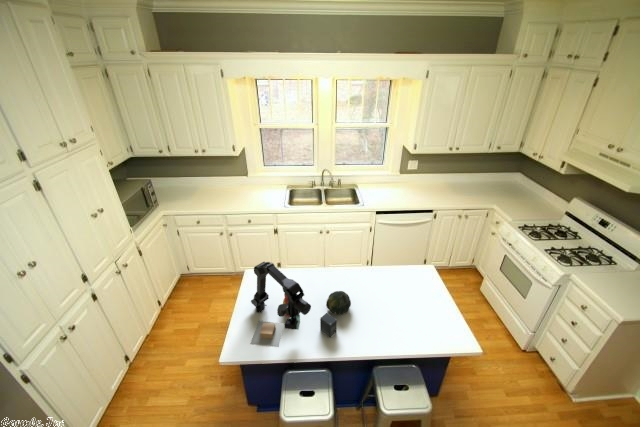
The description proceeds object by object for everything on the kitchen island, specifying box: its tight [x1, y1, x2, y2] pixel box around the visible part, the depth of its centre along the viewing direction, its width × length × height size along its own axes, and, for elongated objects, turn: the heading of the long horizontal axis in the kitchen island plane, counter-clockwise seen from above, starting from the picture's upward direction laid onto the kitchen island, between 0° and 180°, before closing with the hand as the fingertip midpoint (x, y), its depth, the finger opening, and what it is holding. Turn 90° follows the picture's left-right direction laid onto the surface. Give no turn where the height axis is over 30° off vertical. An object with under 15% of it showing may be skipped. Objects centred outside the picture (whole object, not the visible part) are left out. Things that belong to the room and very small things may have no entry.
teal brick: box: [288, 314, 301, 331], centre depth 160 cm, size 5×5×6 cm
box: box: [319, 312, 338, 339], centre depth 168 cm, size 8×6×11 cm
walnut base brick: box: [260, 323, 276, 339], centre depth 168 cm, size 7×7×4 cm
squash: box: [325, 290, 352, 316], centre depth 182 cm, size 14×15×15 cm
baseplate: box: [250, 320, 285, 348], centre depth 169 cm, size 16×16×1 cm
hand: (294, 324), depth 161 cm, fingers closed on teal brick, 5 cm apart
